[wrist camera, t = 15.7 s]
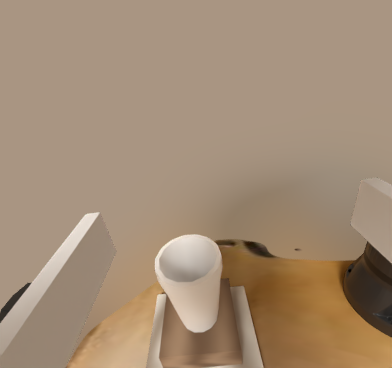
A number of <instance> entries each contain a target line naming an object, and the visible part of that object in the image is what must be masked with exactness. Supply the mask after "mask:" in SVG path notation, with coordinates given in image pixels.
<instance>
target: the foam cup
mask: <svg viewBox="0 0 392 368" xmlns="http://www.w3.org/2000/svg"><path fill="white" fill-rule="evenodd" d="M222 268H223V265H222V256H221V253H220V250H219V247H218V245H217V244H216V243H215V242H214V241H212V240H211V239H210V238H209V237H205V236H201V235H197V234H195V235H183V236H181V237H178V238H175V239H173V240H171V241H170V242H168V243H167V244H166V245H165V246H163V247H162V248H161V249H160V251H159V253H158V255H157V257H156V258H155V272H156V275H157V278H158V281H159V283H160V285H161V286H162V288H163V289H164V291H165V292H166V293H167V295H168V297H169V299H170V301H171V302H172V304H173V306H174V308H175V310H176V312H177V313H178V315H179V317H180V319H181V320H182V322H183V324H184V325H185V327H186V328H187V329H189V330H190V331H192V332H194V333H197V332H205V331H207V330H209V329H210V328H212V326H213V325H214V324H215V322H216V321H217V316H218V310H219V294H220V279H221V273H222Z"/></svg>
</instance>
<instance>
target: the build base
mask: <svg viewBox="0 0 392 368" xmlns="http://www.w3.org/2000/svg"><path fill="white" fill-rule="evenodd" d="M146 368H264V367H263V363H262V359H261V355H260V351H259V347H258V343H257V339H256V334H255V330H254V326H253V322H252V318H251V314H250V310H249V306H248V302H247V298H246V294H245V289H244V286H236V287H230V284H229V278H226V279H220V294H219V310H218V316H217V321H216V322H215V324H214V325H213V326H212V328H210V329H209V330H207V331H205V332H197V333H194V332H192V331H190V330H189V329H187V328H186V327H185V325H184V324H183V322H182V320H181V319H180V317H179V315H178V313H177V312H176V310H175V308H174V306H173V304H172V302H171V301H170V299H169V297H168V295H167V294H158V297H157V303H156V310H155V316H154V322H153V328H152V334H151V341H150V347H149V353H148V359H147V366H146Z"/></svg>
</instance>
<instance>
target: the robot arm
mask: <svg viewBox="0 0 392 368" xmlns="http://www.w3.org/2000/svg"><path fill="white" fill-rule="evenodd" d="M350 225H351V226H352V227H353V228H354V229H355V230H356V231H357V232H358V233H359V234H361V235H362V236H363V237H364V238H365V239H366V240H367V244H366V248H365V251H364V253H363V254H362V255H361V256H360V257H359V258H358V259H357V260H356V261H354V262H353V263H352V264H351V265H350V266H349V267H348V269H347V270H346V273H345V276H344V280H343V289H344V293H345V295H346V297H347V299H348V301H349V303H350V304H351V305H352V307H353V308H354V309H355V310H356V312H357V313H358V314H359V315H360V316H361V317H362V318H364V319H365V320H366V321H367V322H368V323H370V324H371V325H372V326H374V327H375V328H376V329H378V330H379V331H381V332H383V333H384V334H386V335H388V336H390V337H392V185H390V184H388V183H386V182H385V181H383V180H381V179H379V178H370V179H362V180H361V182H360V187H359V190H358V194H357V198H356V202H355V206H354V210H353V214H352V218H351V222H350ZM115 254H116V249H115V247H114V244H113V242H112V240H111V237H110V235H109V232H108V230H107V228H106V225H105V223H104V221H103V218H102V216H101V213H100V212H99V213H91V214H86V215H85V216H84V217H83V218H82V220H81V221H80V222H79V224H78V225H77V226H76V227H75V229H74V230H73V231H72V232H71V234H70V235H69V236H68V238H67V239H66V240H65V241H64V243H63V244H62V245H61V246H60V248H59V249H58V250H57V252H56V253H55V254H54V255H53V257H52V258H51V259H50V261H49V262H48V263H47V264H46V266H45V267H44V268H43V269H42V271H41V272H40V273H39V275H38V276H37V277H36V278H35V280H34V281H33V282H32V283H27V284H26V285H25V286H24V287H23V288H21V289H20V290H19V291H18V292H17V293H15V294H14V295H13V296H12V297H11V299H10V300H9V301H8V302H7V303H6V305H5V306H4V307H3V308H2V309H1V312H0V368H66V366H67V363H68V361H69V359H70V356H71V354H72V352H73V350H74V347H75V345H76V343H77V340H78V338H79V336H80V334H81V331H82V329H83V327H84V325H85V322H86V320H87V318H88V315H89V313H90V311H91V308H92V306H93V304H94V302H95V299H96V297H97V294H98V293H99V290H100V288H101V285H102V283H103V281H104V279H105V276H106V274H107V272H108V270H109V268H110V265H111V263H112V261H113V258H114V256H115Z"/></svg>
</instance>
